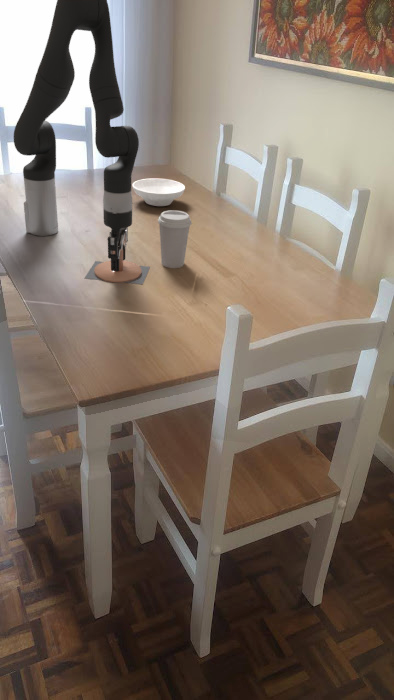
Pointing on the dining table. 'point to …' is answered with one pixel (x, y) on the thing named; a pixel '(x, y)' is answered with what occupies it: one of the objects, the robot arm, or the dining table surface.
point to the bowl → (158, 190)
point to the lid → (124, 274)
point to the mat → (137, 281)
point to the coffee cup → (173, 237)
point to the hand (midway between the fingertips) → (118, 265)
